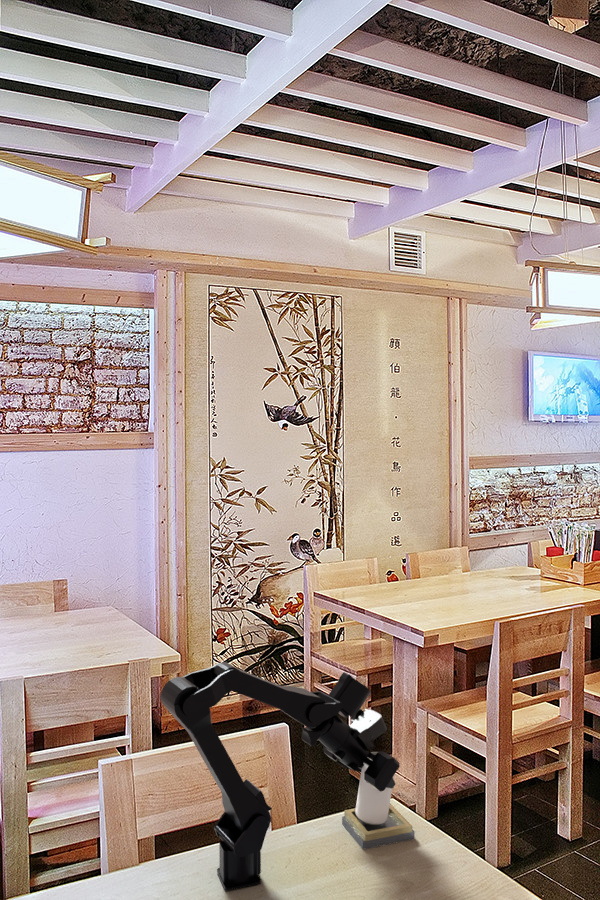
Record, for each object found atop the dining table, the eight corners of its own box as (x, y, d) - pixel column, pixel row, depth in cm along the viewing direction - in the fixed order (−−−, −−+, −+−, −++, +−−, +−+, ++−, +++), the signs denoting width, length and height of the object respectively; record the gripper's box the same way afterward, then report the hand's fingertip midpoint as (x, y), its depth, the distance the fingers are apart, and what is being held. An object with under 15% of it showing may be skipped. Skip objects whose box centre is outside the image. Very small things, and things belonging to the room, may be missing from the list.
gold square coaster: (362, 849, 143) (362, 835, 143) (342, 823, 153) (342, 810, 153) (414, 839, 147) (414, 825, 147) (391, 814, 156) (391, 801, 156)
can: (392, 825, 148) (401, 766, 148) (362, 827, 146) (371, 767, 146) (378, 807, 155) (387, 750, 154) (349, 808, 152) (358, 751, 152)
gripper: (390, 716, 139) (437, 762, 145) (335, 687, 155) (379, 729, 161) (355, 768, 135) (405, 813, 141) (302, 733, 151) (348, 775, 157)
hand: (384, 779), depth 150 cm, fingers closed on can, 6 cm apart
